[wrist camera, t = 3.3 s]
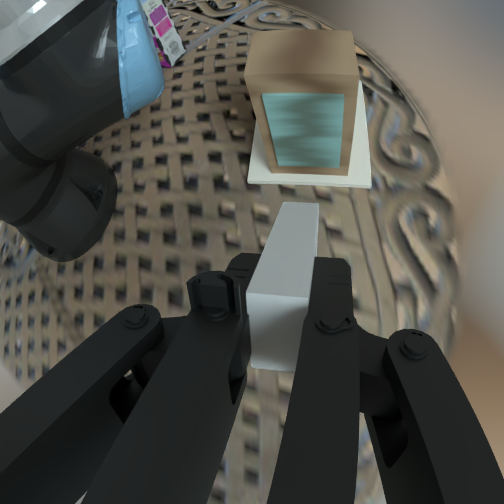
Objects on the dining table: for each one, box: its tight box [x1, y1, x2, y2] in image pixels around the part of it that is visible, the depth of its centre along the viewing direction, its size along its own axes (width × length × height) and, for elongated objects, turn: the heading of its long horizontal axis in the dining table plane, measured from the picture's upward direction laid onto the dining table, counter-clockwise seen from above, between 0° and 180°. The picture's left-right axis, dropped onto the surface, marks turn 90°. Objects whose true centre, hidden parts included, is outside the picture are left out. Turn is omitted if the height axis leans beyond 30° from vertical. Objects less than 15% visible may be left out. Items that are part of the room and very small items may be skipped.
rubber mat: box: [247, 81, 372, 188], centre depth 34 cm, size 13×16×1 cm
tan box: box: [244, 30, 359, 176], centre depth 26 cm, size 8×6×14 cm
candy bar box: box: [140, 0, 187, 67], centre depth 37 cm, size 11×5×16 cm, turn 65°
